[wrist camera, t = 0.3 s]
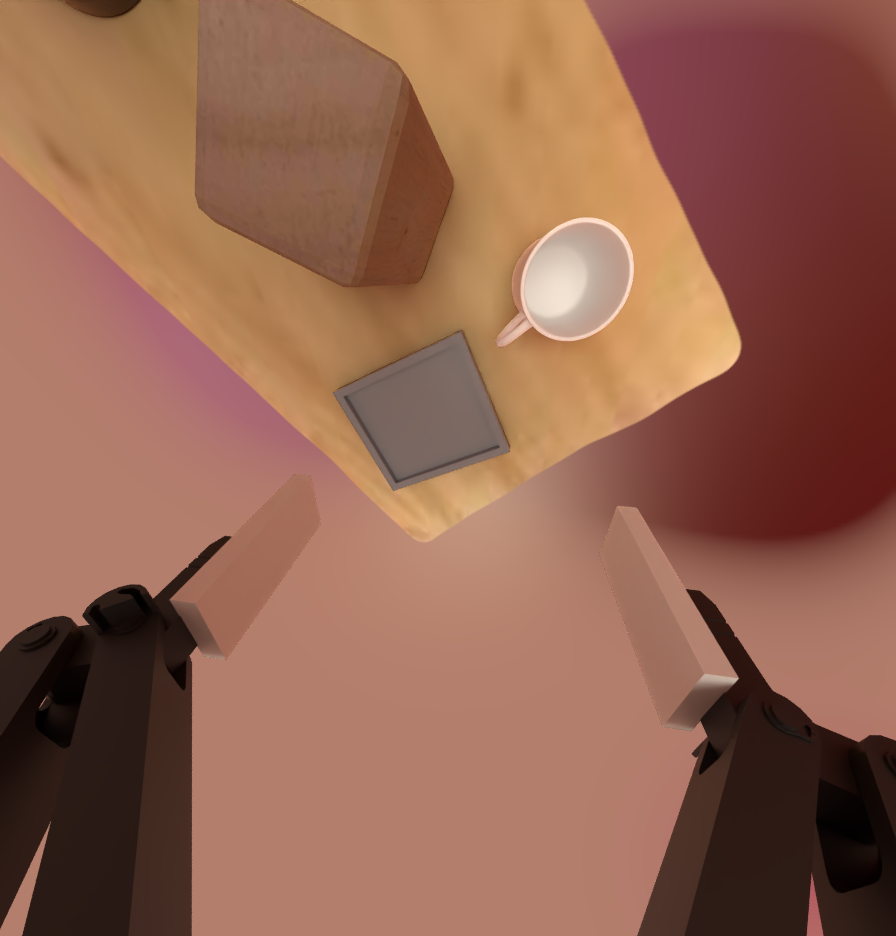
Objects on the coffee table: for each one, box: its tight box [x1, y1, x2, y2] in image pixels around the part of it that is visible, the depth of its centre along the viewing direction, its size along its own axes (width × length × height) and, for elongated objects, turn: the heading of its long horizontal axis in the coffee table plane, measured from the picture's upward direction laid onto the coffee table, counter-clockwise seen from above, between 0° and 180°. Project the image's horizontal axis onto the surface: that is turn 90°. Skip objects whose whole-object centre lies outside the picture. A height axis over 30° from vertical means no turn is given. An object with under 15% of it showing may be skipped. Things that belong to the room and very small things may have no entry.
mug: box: [495, 218, 634, 347], centre depth 30 cm, size 12×8×12 cm
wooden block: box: [195, 0, 453, 287], centre depth 25 cm, size 10×10×20 cm
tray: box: [333, 330, 510, 491], centre depth 44 cm, size 16×18×2 cm
